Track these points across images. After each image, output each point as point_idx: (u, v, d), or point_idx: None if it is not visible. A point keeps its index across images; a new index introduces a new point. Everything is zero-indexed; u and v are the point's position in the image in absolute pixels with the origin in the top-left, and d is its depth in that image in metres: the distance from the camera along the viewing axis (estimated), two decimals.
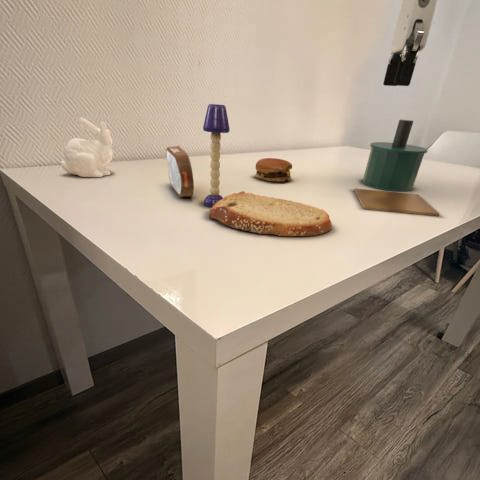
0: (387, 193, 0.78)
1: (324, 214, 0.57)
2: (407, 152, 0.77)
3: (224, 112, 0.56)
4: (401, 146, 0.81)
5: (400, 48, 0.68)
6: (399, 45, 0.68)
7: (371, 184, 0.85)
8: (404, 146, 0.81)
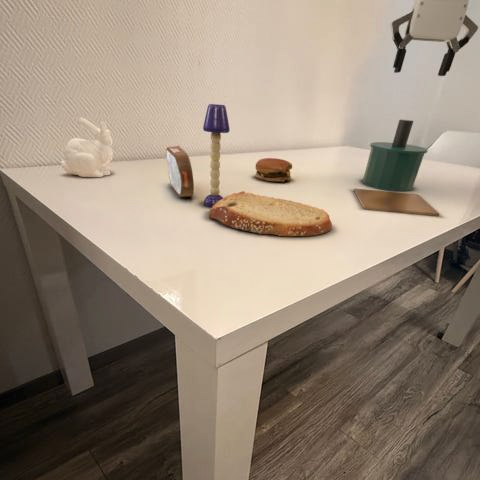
0: (387, 193, 0.78)
1: (324, 214, 0.57)
2: (407, 152, 0.77)
3: (224, 112, 0.56)
4: (401, 146, 0.81)
5: (450, 38, 0.69)
6: (450, 34, 0.68)
7: (371, 184, 0.85)
8: (404, 146, 0.81)
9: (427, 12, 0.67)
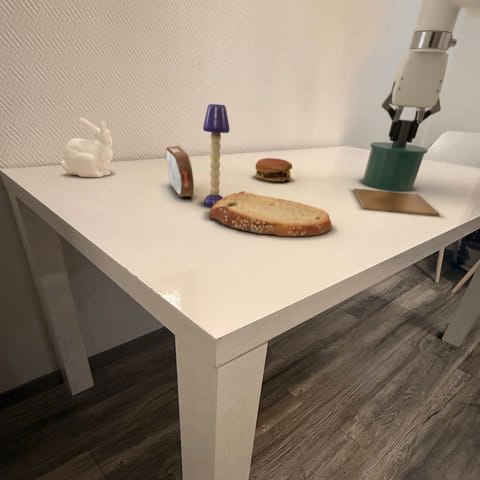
0: (387, 193, 0.78)
1: (324, 214, 0.57)
2: (407, 152, 0.77)
3: (224, 112, 0.56)
4: (401, 146, 0.81)
5: (428, 107, 0.76)
6: (428, 104, 0.75)
7: (371, 184, 0.85)
8: (404, 146, 0.81)
9: (407, 85, 0.74)
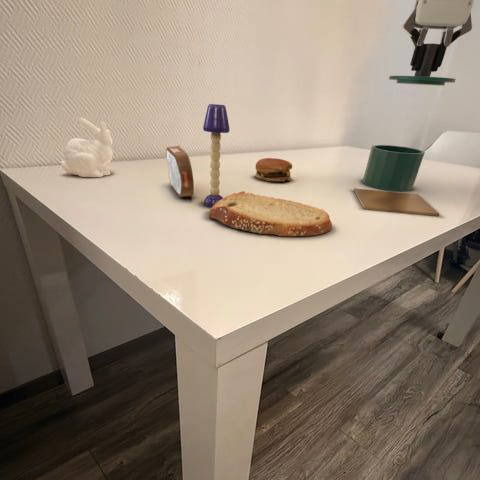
0: (387, 193, 0.78)
1: (324, 214, 0.57)
2: (433, 79, 0.67)
3: (224, 112, 0.56)
4: (425, 76, 0.71)
5: (458, 24, 0.66)
6: (458, 21, 0.65)
7: (371, 184, 0.85)
8: (428, 76, 0.71)
9: None
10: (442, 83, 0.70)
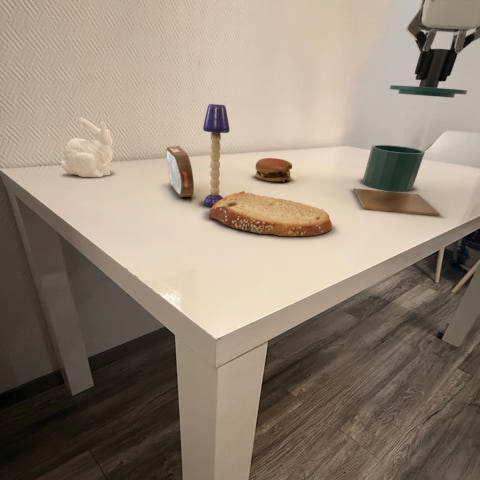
0: (387, 193, 0.78)
1: (324, 214, 0.57)
2: (442, 90, 0.57)
3: (224, 112, 0.56)
4: (432, 86, 0.61)
5: (472, 27, 0.56)
6: (472, 23, 0.55)
7: (371, 184, 0.85)
8: (435, 86, 0.61)
9: None
10: (452, 95, 0.60)
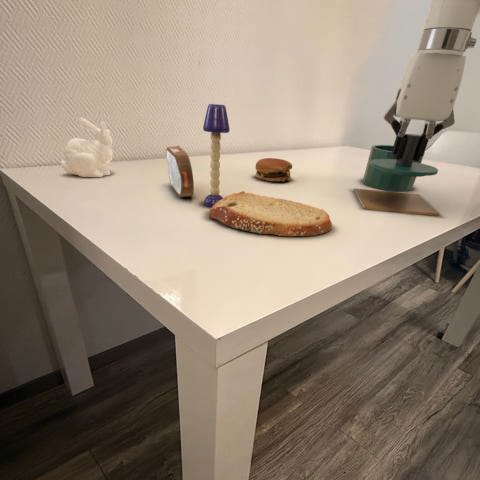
0: (387, 193, 0.78)
1: (324, 214, 0.57)
2: (414, 173, 0.64)
3: (224, 112, 0.56)
4: (407, 165, 0.68)
5: (440, 119, 0.63)
6: (440, 116, 0.62)
7: (371, 184, 0.85)
8: (410, 165, 0.68)
9: (415, 94, 0.61)
10: None
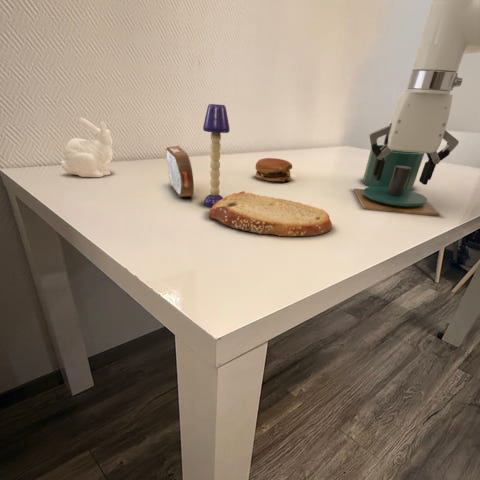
0: None
1: (324, 214, 0.57)
2: (404, 204, 0.68)
3: (224, 112, 0.56)
4: (397, 195, 0.72)
5: (429, 152, 0.66)
6: (429, 149, 0.66)
7: (371, 184, 0.85)
8: (401, 195, 0.72)
9: (405, 129, 0.64)
10: None
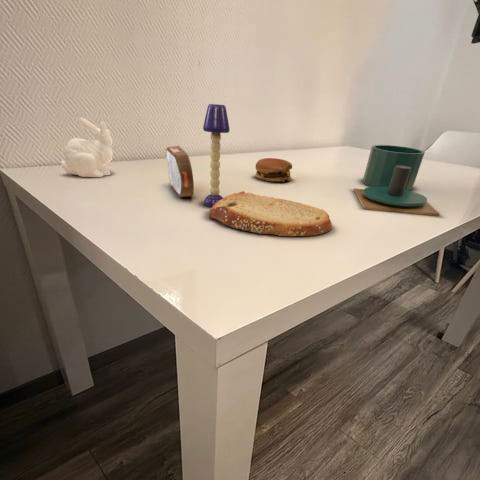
0: None
1: (324, 214, 0.57)
2: (404, 204, 0.68)
3: (224, 112, 0.56)
4: (397, 195, 0.72)
5: None
6: None
7: (371, 184, 0.85)
8: (401, 195, 0.72)
9: None
10: None
